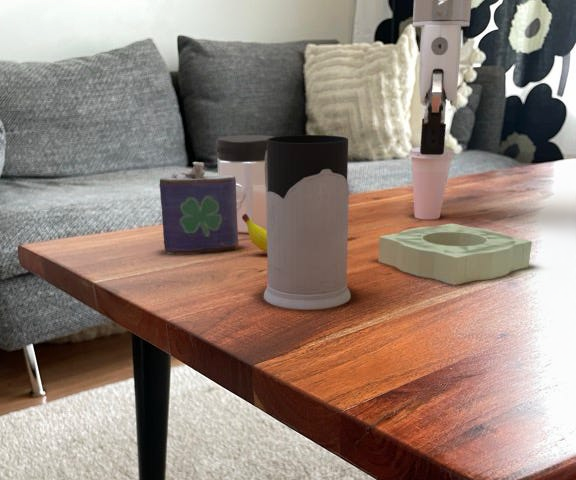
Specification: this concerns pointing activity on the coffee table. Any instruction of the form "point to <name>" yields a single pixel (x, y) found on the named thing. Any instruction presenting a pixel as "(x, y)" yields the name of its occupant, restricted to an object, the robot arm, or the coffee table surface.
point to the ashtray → (454, 253)
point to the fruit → (256, 234)
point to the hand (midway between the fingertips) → (431, 150)
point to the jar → (246, 175)
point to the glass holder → (307, 221)
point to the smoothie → (429, 181)
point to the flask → (199, 212)
